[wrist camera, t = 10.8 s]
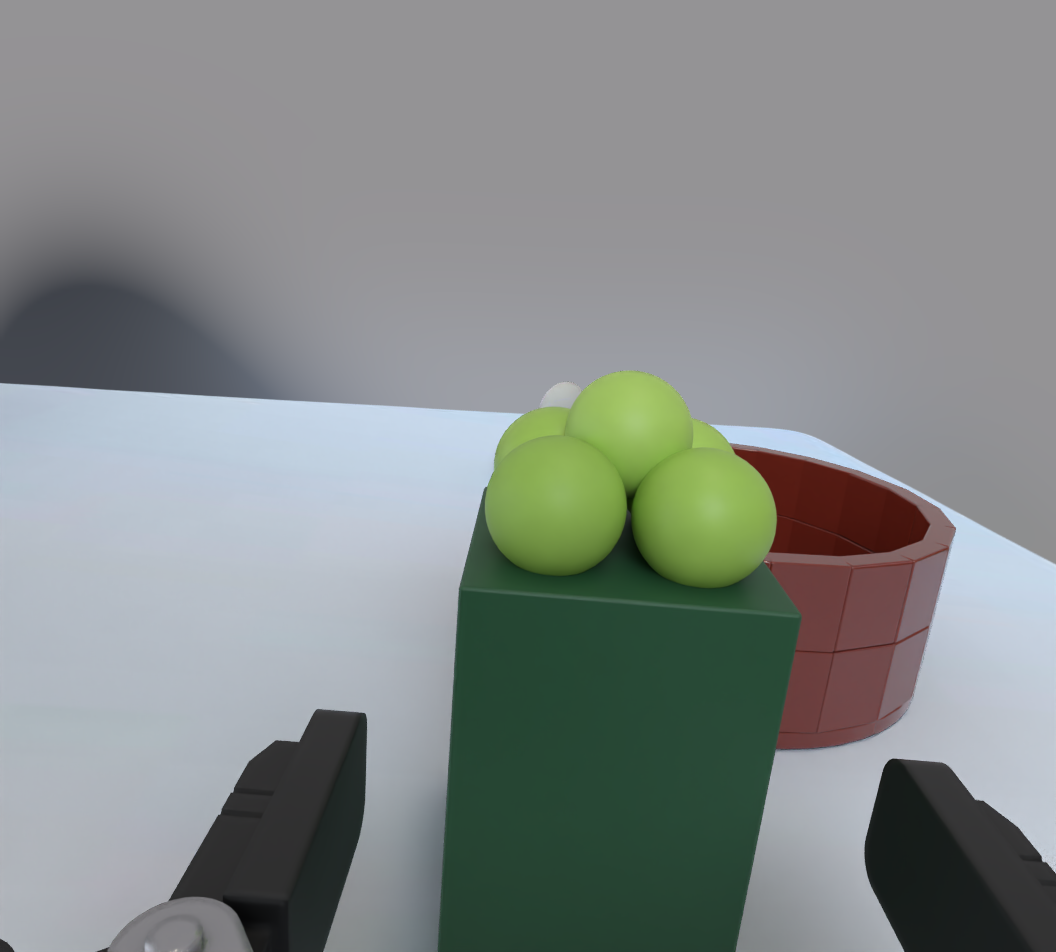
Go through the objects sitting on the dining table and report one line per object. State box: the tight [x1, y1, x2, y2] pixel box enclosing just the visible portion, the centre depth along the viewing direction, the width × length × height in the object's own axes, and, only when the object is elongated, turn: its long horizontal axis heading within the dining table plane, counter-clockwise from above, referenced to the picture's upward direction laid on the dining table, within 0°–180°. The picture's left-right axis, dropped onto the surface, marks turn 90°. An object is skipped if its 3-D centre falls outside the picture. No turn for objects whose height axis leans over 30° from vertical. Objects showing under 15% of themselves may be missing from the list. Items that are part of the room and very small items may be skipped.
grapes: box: [438, 371, 802, 952], centre depth 16 cm, size 6×6×12 cm
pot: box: [729, 443, 956, 749], centre depth 29 cm, size 15×15×6 cm
